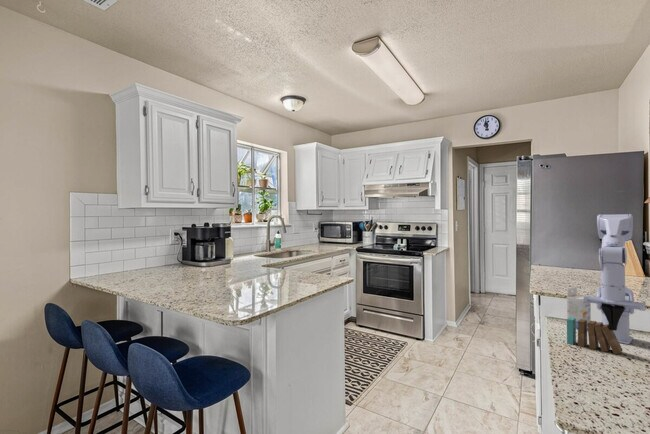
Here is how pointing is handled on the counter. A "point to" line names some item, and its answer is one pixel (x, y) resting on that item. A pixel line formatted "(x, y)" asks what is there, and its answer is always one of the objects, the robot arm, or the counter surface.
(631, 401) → the counter surface
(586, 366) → the counter surface
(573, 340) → the domino
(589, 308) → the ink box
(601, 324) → the domino
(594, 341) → the domino
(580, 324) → the domino
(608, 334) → the domino
